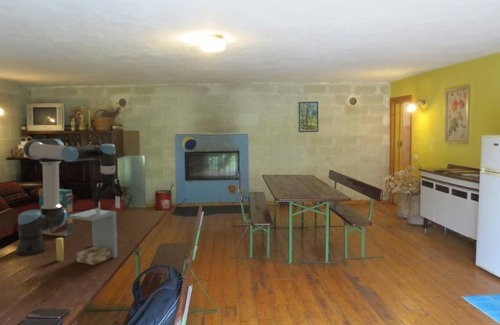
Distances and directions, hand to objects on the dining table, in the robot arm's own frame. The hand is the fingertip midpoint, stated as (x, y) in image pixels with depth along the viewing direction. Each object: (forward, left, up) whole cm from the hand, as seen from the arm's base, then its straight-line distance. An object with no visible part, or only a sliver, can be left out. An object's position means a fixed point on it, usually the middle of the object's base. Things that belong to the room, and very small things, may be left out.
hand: (108, 210), depth 215 cm
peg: (-20, -15, -26) cm, 36 cm away
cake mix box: (-67, +23, -26) cm, 76 cm away
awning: (-4, -7, -26) cm, 27 cm away
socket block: (-4, -7, -26) cm, 27 cm away
